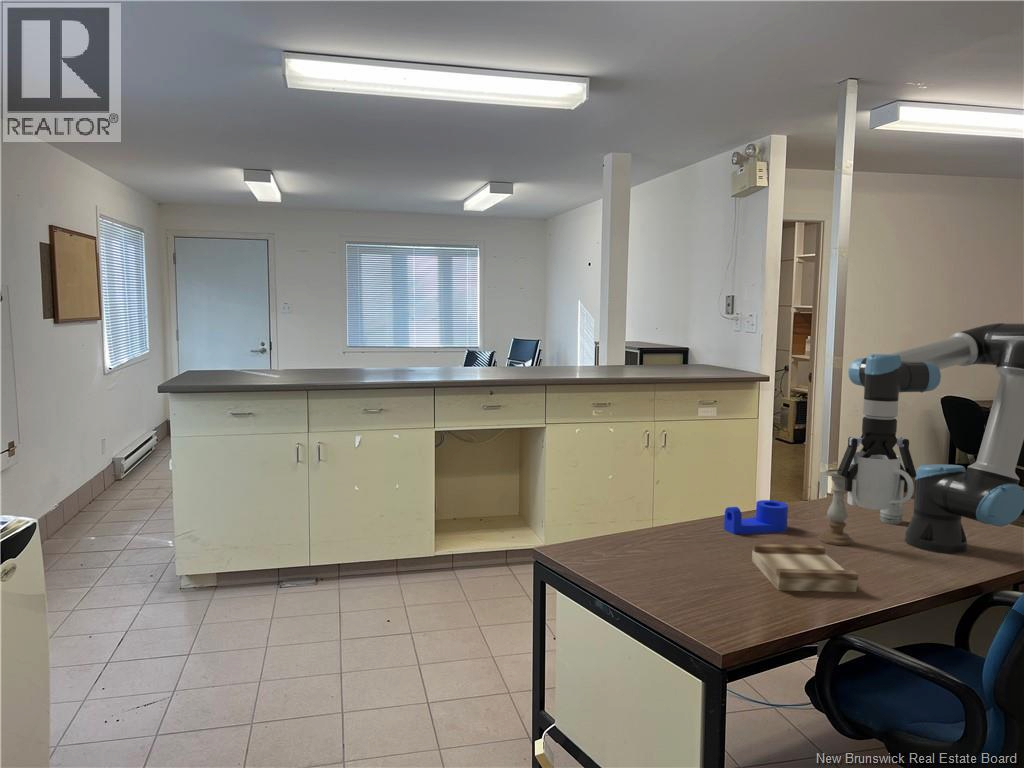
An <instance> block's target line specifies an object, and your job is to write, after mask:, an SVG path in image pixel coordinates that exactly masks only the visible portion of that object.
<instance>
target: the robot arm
mask: <svg viewBox="0 0 1024 768" xmlns="http://www.w3.org/2000/svg"><path fill="white" fill-rule="evenodd" d="M972 365H990V366H995V370H996V372H997V373H998V375H999V380H998V383H997V388H996V391H995V395H994V397H993V398H994V399H993V401H992V405H991V409H990V412H989V416H988V419H987V423H986V426H985V430H984V432H983V436H982V440H981V444H980V448H979V451H978V454H977V458H976V461H975V462H974V463H972V464H970V465H968V466H967V468H966V467H965V466H963V465H958V464H946V463H945V464H944V463H943V464H941V463H939V464H938V463H937V464H936V463H935V464H934V463H933V464H923V465H920V466H918V467H917V469H915V465H914V461H913V458H912V455H911V452H910V440H909V439H907V438H905V437H900V438H898V437H896V434H897V430H898V429H897V428H898V420H897V418H896V417H898V413H899V410H898V409H899V399H900V398H899V395H900V394H901V393H921V394H922V393H924V392H932V391H934V390H935V389H936V388H938V387H939V385H940V383H941V378H942V375H941V370H942V369H946V368H950V367H954V366H959V367H968V366H972ZM848 378H849V380H850V381H851V383H852V384H854V385H855V386H860V387H863V388H864V389H863V390H864V391H863V408H862V409H863V410H862V414H863V415H864V416H863V418H862V422H861V423H862V424H861V433H862V434H861V436H860V437H852V436H849V437H848V439H847V447H846V450H845V452H844V455H843V457H842V458H841V461H840V464H839V466H838V468H837V469H838V471H837V473H838V474H839V475H841V476H843V477H845V485H844V487H845V490H846V492H847V498H846V499H847V502H846V503H847V504H848V505H850V506H852V507H856V501H855V500H856V482H857V480H856V479H854V476H855V475H856V474H857V472H858V463H857V464H851V462H852V460H853V458H854V455H855V453H856V452H857V450H858V447H859V446H860V444H861V445H862V448H861V449H860V450H859V451H860V452H859V451H858V452H859V455H858V456H857V457H862V458H869V457H870V456H871V455H879V454H881V455H886V456H887V457H888V459H889V460H892V459H898V458H897V456H898V455H897V453H896V452H895V450H894V447H896V445H897V447H898V449H899V453H900V458H901V459H902V463H901V462H900V470H903V471H905V472H906V473H908V474H909V475H910V477H911V479H912V478H914V495H913V496H914V498H913V499H914V500H913V515H912V517H911V520H910V521H909V524H908V526H907V527H906V530H905V533H904V541H905V542H906V543H907V544H909V545H911V546H913V547H916V548H918V549H923V550H927V551H931V552H935V553H936V552H937V553H945V554H946V553H947V554H955V553H956V554H957V553H958V554H959V553H964V552H966V551H967V549H968V539H967V536H966V533H965V531H964V527H963V523H962V518H966V519H969V520H973V521H976V522H979V523H980V524H981V523H982V524H985V525H990V526H994V527H1004V526H1008V525H1010V524H1011V523H1013V522H1015V521H1016V520H1017V519H1018V518H1019V517H1020V516H1021V514H1022V512H1023V511H1024V488H1022V487H1021V486H1019V483H1020V477H1019V476H1018V475H1017V474H1016V467H1017V464H1018V462H1019V457H1020V454H1021V450H1022V446H1023V443H1024V323H1005V322H1003V323H1001V322H1000V323H991V324H985V325H981V326H978V327H977V326H976V327H972V328H970V329H965V330H962V331H959V332H955V333H952V334H951V335H950V336H949V337H948V338H947V339H942V340H939V341H935V342H931V343H927V344H924V345H920V346H917V347H916V346H915V347H912V348H909V349H904V350H901V351H897V352H894V353H890V354H886V353H881V354H880V353H871V354H869V355H867V357H864V358H861V357H860V358H856V359H854V360H853V361H852V362H851V363H850V364H849V368H848ZM896 455H897V456H896ZM902 464H903V465H902ZM850 465H851V466H850ZM907 492H908V485H907V481H906V479H905V478H904V476H902V475H900V478H899V484H898V489H897V493H896V496H895V498H894V499H895V500H901V499H903V498H904V494H905V493H906V494H907ZM896 505H898V506H900V507H903V508H904V503H898V504H896Z"/></svg>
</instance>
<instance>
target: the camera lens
mask: <svg viewBox="0 0 1024 768" xmlns="http://www.w3.org/2000/svg"><path fill="white" fill-rule="evenodd" d="M903 516H904V506H903V507H900V506H898V505H896V504H894V503H892V504H891V505H890V506H889V508H887V509H885V510H879V518H880V521H881V522H882V523H884V524H888V525H901V524H902V521H903Z"/></svg>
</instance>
